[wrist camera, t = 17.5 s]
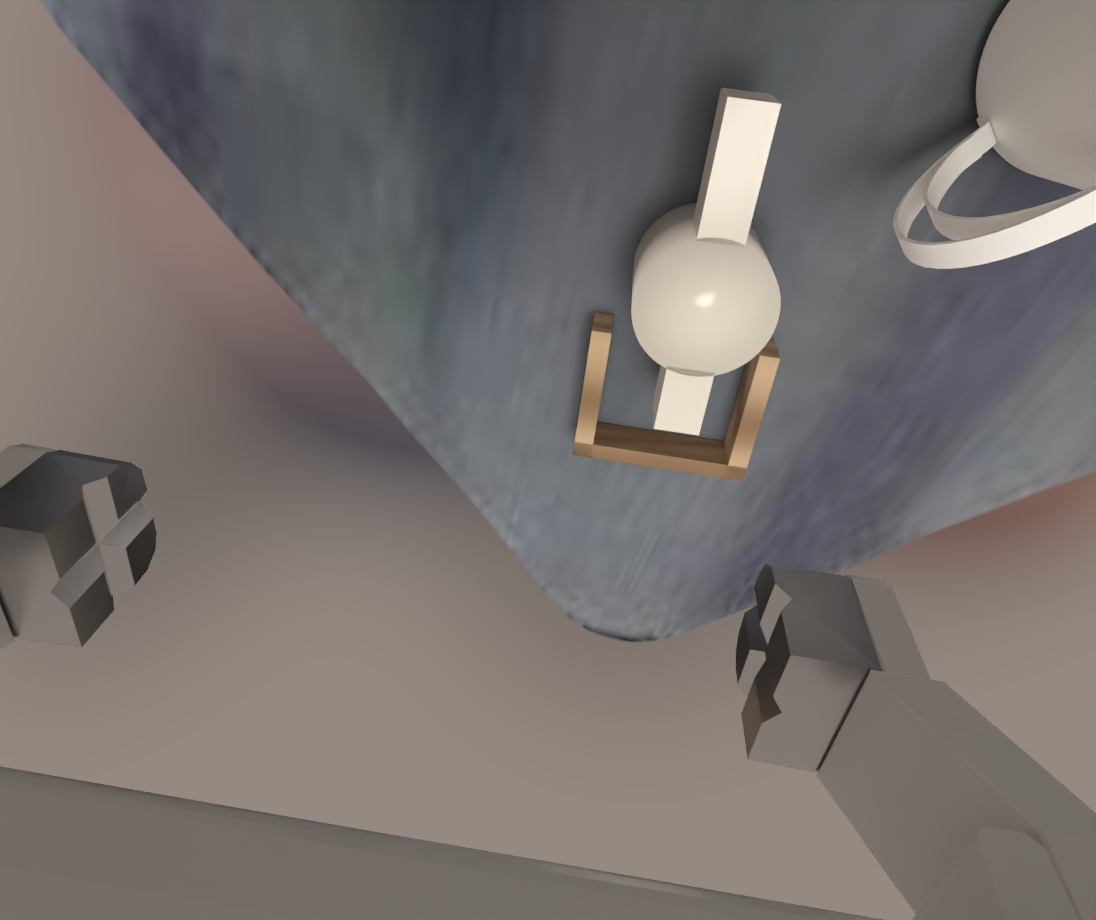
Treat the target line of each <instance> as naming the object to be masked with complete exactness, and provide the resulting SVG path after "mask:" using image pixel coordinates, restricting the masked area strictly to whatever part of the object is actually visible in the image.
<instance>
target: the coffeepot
mask: <svg viewBox="0 0 1096 920" xmlns="http://www.w3.org/2000/svg"><path fill="white" fill-rule="evenodd" d="M976 106H977V112H978V117H979V118H977V122H978V125H979V128H978V129H977V130H976V131H974V132H973V133H972V134H970V135H969V136H968V137H966V138H965V139H964V140H962V141H961V142H960V143H958V144H957V145H956V146H955V147H953V148H952V149H951V150H949V151H948V152H947V153H946V154H945V155H943V156H942V157H941V158H940V159H939V160H937V161H936V162H935V163H934V164H933V165H932V166H931V167H930V168H929V169H928V170H927V171H926V172H925V173H924V174H923V175H922V176H921V177H920V178H919V179H918V180H917V181H916V182H915V183H914V184H913V185H912V186H911V188H910V189H909V190H908V191H907V192H906V194H905V195H904V197H903V198H902V200H901V201H900V203H899V205H898V207H897V209H896V211H895V214H894V219H893V227H894V231H895V234H896V236H897V239H898V241H899V243H900V245H901V248H902V250H903V252H904V255H905V256H906V257H907V258H908V259H909V260H910V261H911V262H912V263H915V264H917V265H920V266H923V267H928V268H937V269H949V268H963V267H969V266H975V265H981V264H985V263H989V262H993V261H997V260H1001V259H1005V258H1008V257H1011V256H1015V255H1018V254H1021V253H1024V252H1027V251H1030V250H1032V249H1035V248H1037V247H1040V246H1043V245H1045V244H1048V243H1050V242H1053V241H1055V240H1058V239H1060V238H1062V237H1065V236H1067V235H1069V234H1072V233H1074V232H1076V231H1078V230H1080V229H1083V228H1085V227H1087V226H1089V225H1091V224H1093V223H1095V222H1096V0H1010V1H1009V2H1008V4H1007V5H1006V7H1005V8H1004V10H1003V11H1002V13H1001V14H1000V16H999V18H998V19H997V21H996V23H995V25H994V26H993V29H992V31H991V33H990V35H989V37H988V39H987V42H986V44H985V47H984V50H983V53H982V56H981V60H980V64H979V68H978V74H977V81H976ZM991 147H993V148H994V149H995V150H996V152H997V153H998V154H999V155H1000V156H1001V157H1002V158H1004V159H1005V160H1006V161H1007V162H1008V163H1010V164H1011V165H1013V166H1014V167H1016V168H1018V169H1020V170H1022V171H1024V172H1026V173H1029V174H1032V175H1035V176H1038V177H1041V178H1045V179H1048V180H1051V181H1055V182H1058V183H1062V184H1065V185H1068V186H1072V187H1075V188H1078V189H1082V190H1083V191H1080V192H1078V193H1075V194H1072V195H1070V196H1067V197H1064V198H1061V199H1058V200H1055V201H1053V202H1049V203H1046V204H1043V205H1039V206H1036V207H1032V208H1028V209H1024V210H1021V211H1016V212H1011V213H1006V214H1001V215H995V216H987V217H972V218H967V217H957V216H952V215H949V214H945V213H943V212H941V211H939V210H937V208H938V205H939V203H940V201H941V199H942V197H943V196H944V194H945V193H946V191H947V190H948V188H949V187H950V186H951V184H952V183H953V182H954V181H955V179H956V178H957V177H958V176H959V175H960V174H961V173H962V172H963V171H964V170H965V169H966V168H967V167H969V166H970V165H971V164H973V163H974V162H975V161H976V160H978V159H979V158H980V157H982V154H984V153H985V152H986V151H988V150H989V149H990V148H991ZM924 205H926V207H927V209H928V212H929V214H930V217H931V219H932V222H933V224H934V226H935V228H936V229H937V230H938V231H939V232H940V233H941V234H942V235H944V236H946V237H948V238H950V239H952V240H955V241H945V242H935V243H933V242H918V241H915V240H912V239H909V238H907V233H908V231H909V229H910V226H911V224H912V222H913V220H914V219H915V217H916V216H917V214H918V213H919V212H920V210H921V209H922V208H923V207H924Z"/></svg>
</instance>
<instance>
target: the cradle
mask: <svg viewBox="0 0 1096 920" xmlns="http://www.w3.org/2000/svg"><path fill="white" fill-rule="evenodd" d="M613 317H614V315H612V314H605V313H598V312H595V313H594V319H593V326H592V332H591V339H590V345H589V352H588V358H587V365H586V371H585V378H584V384H583V391H582V398H581V404H580V411H579V417H578V424H577V430H576V437H575V443H574V450H573V455H578V456H585V457H591V458H598V459H604V460H611V461H617V462H624V463H630V464H637V465H643V466H650V467H656V468H663V469H669V470H676V471H682V472H689V473H695V474H702V475H708V476H715V477H721V478H728V479H734V480H741V481H743V478H744V475H745V472H746V469H747V465H748V462H749V459H750V456H751V452H752V449H753V446H754V443H755V439H756V436H757V433H758V430H759V426H760V423H761V420H762V417H763V413H764V410H765V407H766V404H767V400H768V397H769V394H770V391H771V387H772V384H773V381H774V378H775V375H776V371H777V368H778V365H779V362H780V356H779V353H778V350H777V348H776V345H775V342H774V339H773V338H770V340H769V341H768V342H767V344H766V345H765V347H764V348H763V349H762V350H761V351H760V352H759V353H758V354H757V355H756V356H755V357H754V358H753V359H751V360H750V361H748V362H747V363H746V365H745V369H744V373H743V376H742V380H741V383H740V387H739V390H738V394H737V397H736V401H735V405H734V408H733V412H732V415H731V419H730V422H729V426H728V429H727V433H726V436H725V440H724V441H719V440H712V439H705V438H699V437H692V436H686V435H679V434H673V433H666V432H659V431H653V430H646V429H640V428H633V427H626V426H620V425H613V424H607V423H600V422H597V418H598V412H599V406H600V400H601V395H602V389H603V383H604V377H605V371H606V365H607V359H608V353H609V347H610V341H611V335H612V327H613Z"/></svg>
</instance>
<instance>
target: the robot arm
mask: <svg viewBox="0 0 1096 920" xmlns="http://www.w3.org/2000/svg"><path fill="white" fill-rule="evenodd" d="M146 491H147V487H146V484H145V480H144V476H143V473H142V469H140V468H139V467H137V466H136V465H134V464H132V463H130V462H124V461H119V460H113V459H108V458H103V457H97V456H91V455H86V454H81V453H75V452H70V451H64V450H55V449H51V448H44V447H39V446H33V445H27V444H19V445H12V446H8V447H7V448H5V449H4V450H2V451H1V452H0V650H1V649H3V648H4V647H6V646H8V645H10V644H11V643H13V642H14V641H15V640H14V638H17V639H24V640H31V641H38V642H45V643H53V644H60V645H67V646H75V647H83V645H85V643H86V642H87V641H88V640H89V639H90V638H91V636H92V635H93V634H94V633H95V632H96V630H97V629H98V628H99V627H100V626H101V625H102V623H103V622H104V621H105V620H106V619H107V618H108V617H109V615H110V614H111V613H112V612H113V611H114V601H113V596H114V595H116V594H118V593H120V592H122V591H124V590H126V589H129V588H131V587H133V586H135V585H136V584H137V582H138V581H139V580H140V579H141V577H142V576H143V575H144V574H145V573H146V571H147V570H148V567H149V565H150V562H151V560H152V557H153V555H154V552H155V548H156V528H155V524H154V518H153V517H152V515H150V513H149V512H148V511H147V510H146V509H145V508H144V507H143V506H142V505H141V504H140V502H139V501H140V500H141V498H142V497H143V496H144V494H145V493H146ZM754 591H755V597H756V603H757V605H756V606H754V607H753V608H751V609H750V610H748V611H747V612H745V614H744V617H743V620H742V623H741V627H740V630H739V634H738V641H737V647H736V675H737V683H738V686H739V687H740V688H741V689H742V690H743V691H744V692H745V694H746V695H747V696H748V697H747V700H746V702H745V705H744V707H743V710H742V713H741V715H742V721H743V722H742V723H743V730H744V737H745V744H746V752H747V759H750V760H755V761H760V762H765V763H771V764H775V765H781V766H786V767H791V768H796V769H801V770H806V771H812V772H816V773H818V774H817V777H818V778H819V780H820V781H821V783H822V784H823V785H824V787H825V788H826V790H827V791H828V792H829V794H830V795H831V797H832V798H833V799H834V801H835V802H836V803H837V805H838V806H839V808H840V809H841V811H842V812H843V813H844V815H845V816H846V818H847V819H848V820H849V822H850V823H851V824H852V826H853V827H854V829H855V830H856V832H857V833H858V834H859V836H860V837H861V838H862V840H863V841H864V843H865V844H866V845H867V847H868V848H869V850H870V851H871V852H872V854H873V855H874V857H875V858H876V859H877V861H878V862H879V864H880V865H881V866H882V868H883V869H884V871H885V872H886V873H887V875H888V876H889V878H890V879H891V880H892V882H893V883H894V885H895V886H896V887H897V889H898V890H899V891H900V893H901V894H902V896H903V897H904V898H905V900H906V901H907V903H908V904H909V905H910V907H911V908H912V910H913V911H914V913H915V914H916V915H915V917H914V918H913V919H912V920H1096V813H1095V812H1094V811H1093V810H1092V809H1090V808H1089V807H1088V806H1087V805H1086V804H1084V803H1083V802H1082V801H1081V800H1080V799H1079V798H1078V797H1076V796H1075V795H1074V794H1073V793H1072V792H1071V791H1070V790H1068V789H1067V788H1066V787H1065V786H1064V785H1063V784H1061V783H1060V782H1059V781H1058V780H1057V779H1056V778H1055V777H1053V776H1052V775H1051V774H1050V773H1049V772H1048V771H1046V770H1045V769H1044V768H1043V767H1042V766H1041V765H1040V764H1038V763H1037V762H1036V761H1035V760H1034V759H1033V758H1031V757H1030V756H1029V755H1028V754H1027V753H1026V752H1024V751H1023V750H1022V749H1021V748H1020V747H1018V745H1016V744H1015V743H1014V742H1013V741H1012V740H1011V739H1009V738H1008V737H1007V736H1006V735H1005V734H1003V733H1002V732H1001V731H1000V730H999V729H998V728H997V727H996V726H994V725H993V724H992V723H991V722H990V721H988V720H987V719H986V718H985V717H984V716H983V715H982V714H980V713H979V712H978V711H977V710H976V709H974V707H972V706H971V705H970V704H969V703H968V702H967V701H965V700H964V699H963V698H962V697H961V696H960V695H958V694H957V693H956V692H955V691H954V690H953V689H951V688H950V687H949V686H948V685H947V684H946V683H945V682H942V681H937V680H931V678H930V676H929V673H928V671H927V669H926V666H925V664H924V662H923V659H922V657H921V654H920V652H919V650H918V647H917V645H916V642H915V640H914V638H913V635H912V633H911V631H910V628H909V626H908V623H907V621H906V618H905V616H904V614H903V611H902V609H901V607H900V604H899V602H898V600H897V597H896V595H895V592H894V590H893V588H892V586H891V585H890V584H889V583H888V582H887V581H885V580H880V579H873V578H865V577H858V576H850V575H844V576H841V575H835V574H829V573H822V572H816V571H809V570H803V569H796V568H790V567H783V566H777V565H770V564H765V565H764V566H763V568H762V569H761V570H760V572H759V574H758V577H757V580H756V583H755V585H754ZM0 920H881V919H876V918H870V917H865V916H859V915H853V914H847V913H842V912H835V911H830V910H824V909H819V908H812V907H807V906H801V905H796V904H789V903H784V902H778V901H772V900H767V899H761V898H755V897H750V896H744V895H738V894H732V893H726V892H720V891H715V890H709V889H703V888H698V887H692V886H686V885H681V884H675V883H669V882H663V881H658V880H652V879H646V878H640V877H634V876H629V875H623V874H617V873H611V872H605V871H600V870H594V869H588V868H582V867H576V866H570V865H565V864H559V863H553V862H547V861H542V860H536V859H530V858H524V857H518V856H513V855H507V854H501V853H495V852H489V851H484V850H478V849H472V848H466V847H460V846H454V845H448V844H443V843H437V842H431V841H425V840H420V839H414V838H407V837H402V836H397V835H391V834H385V833H379V832H374V831H368V830H362V829H356V828H351V827H345V826H339V825H333V824H327V823H322V822H316V821H311V820H305V819H299V818H293V817H288V816H282V815H276V814H271V813H265V812H259V811H253V810H248V809H241V808H236V807H230V806H224V805H219V804H213V803H207V802H202V801H196V800H190V799H185V798H179V797H173V796H167V795H162V794H155V793H150V792H144V791H139V790H133V789H127V788H121V787H116V786H110V785H104V784H99V783H93V782H87V781H81V780H75V779H70V778H64V777H58V776H52V775H47V774H41V773H34V772H29V771H24V770H18V769H12V768H6V767H1V766H0Z"/></svg>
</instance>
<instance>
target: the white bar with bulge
mask: <svg viewBox="0 0 1096 920" xmlns="http://www.w3.org/2000/svg"><path fill="white" fill-rule="evenodd" d="M780 107H781V103H780V102H779V101H778V100H777V99H775V98H774V97H773V96H772V95H771V94H767V93H759V92H752V91H744V90H737V89H729V88H722V87H721V91H720V96H719V100H718V105H717V110H716V114H715V119H714V124H713V129H712V133H711V138H710V143H709V147H708V152H707V157H706V162H705V166H704V171H703V176H702V181H701V185H700V190H699V195H698V199H697V203H691V204H685V205H682V206H679V207H676V208H674V209H672V210H670V211H668V212H667V213H665V214H664V215H662V216H661V217H659V218H658V219H657V220H656V221H655V222H654V223H653V224H652V225H651V226H650V227H649V228H648V229H647V231H646V232H645V234H644V235H643V237H642V239H641V240H640V242H639V245H638V247H637V250H636V253H635V257H634V265H633V285H632V306H631V315H632V324H633V328H634V331H635V335H636V337H637V339H638V341H639V343H640V345H641V346H642V348H643V349H644V351H645V352H646V353H647V354H648V355H649V356H650V357H651V358H652V359H653V360H654V361H655V362H657V363H658V364H660V365H661V366H660V371H659V376H658V380H657V385H656V390H655V395H654V399H653V412H654V429H659V430H666V431H672V432H679V433H686V434H693V435H699V433H700V429H701V425H702V421H703V417H704V413H705V409H706V406H707V402H708V398H709V394H710V390H711V386H712V382H713V378H714V376H715V375H720V374H724V373H727V372H730V371H732V370H735V369H737V368H739V367H740V366H742V365H744V364H746V363H747V362H748V361H750V360H751V359H753V358H754V357H755V356H756V355H757V354H758V353H759V352H760V351H761V350H762V349H763V348H764V347H765V345H766V344H767V342H768V341H769V340H770V338H771V336H772V334H773V332H774V330H775V328H776V325H777V322H778V319H779V314H780V306H781V300H780V291H779V286H778V283H777V280H776V277H775V275H774V273H773V270H772V268H771V266H770V263H769V261H768V259H767V256H766V254H765V252H764V250H763V247H762V245H761V243H760V240H759V238H758V236H757V234H756V232H755V230H754V229H753V227H752V226H751V221H752V217H753V213H754V209H755V206H756V202H757V198H758V194H759V190H760V186H761V182H762V178H763V174H764V170H765V166H766V162H767V158H768V154H769V150H770V147H771V143H772V139H773V135H774V131H775V127H776V123H777V119H778V115H779V111H780Z"/></svg>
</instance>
